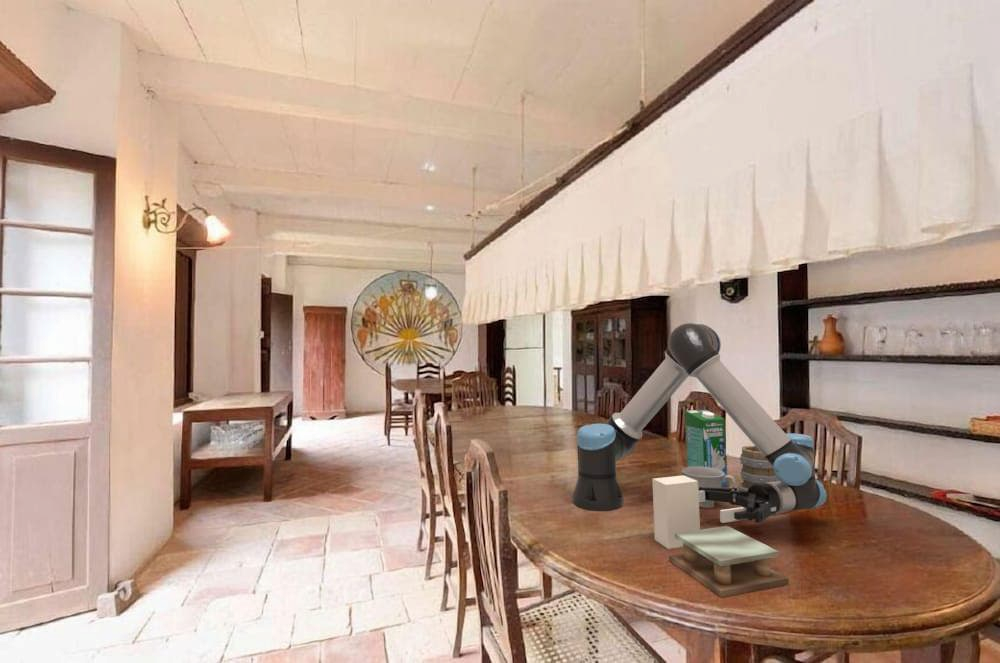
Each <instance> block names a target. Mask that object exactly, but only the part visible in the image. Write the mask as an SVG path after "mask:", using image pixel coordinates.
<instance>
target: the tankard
mask: <svg viewBox="0 0 1000 663" xmlns="http://www.w3.org/2000/svg"><path fill="white" fill-rule="evenodd" d="M741 452H742V453H741V454H740V457H739V460H740V464H741V465H742V467H741V469H740V478H741V479H742V482H740V483H739V490H738V491H742V490H743V491H747V490H748V489H749V487H750V486H751V485H753V484H760V483H767V482H775V481H780V480H779V479H778V478H777V476H776V475H775V472H774V469H773V466H772V465H771V464H770V463H769V462H768V460H767V459H766V458H765V457H764V455H763V454H762V453H761V452H760V451H759V450H758V448H757V447H756V446H755V445H745V446H742V447H741Z"/></svg>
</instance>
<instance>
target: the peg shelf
mask: <svg viewBox="0 0 1000 663" xmlns="http://www.w3.org/2000/svg"><path fill="white" fill-rule="evenodd" d="M675 538H676V539H677V540H679V541H680V542H682V543H683V547H682V552H681V553H674V554H669V555H668V560H669V562H670V563H672V564H674V566H676V567H677V568H679V569H680V570H681V571H683V572H685V573H686V574H688V575H689V576H691V578H693V579H695V580H696V581H697V582H698V583H700V584H701V585H702V586H704V587H706V588H707V589H709V590H710V592H711V591H712V592H713V593H714V594H716V595H717V596H718V597H720V598H725V597H731V596H736V595H742V594H746V593H752V592H757V591H763V590H767V589H772V588H779V587H783V586H787V585H790V584H789V583H790V582H789V578H788V577H787V576H785V575H783V574H781V573H779V572H778V571H776V570H774V569H772V568H771V558H772V559H773V558H777V557H780V551H779V550H777V549H775V548H772V547H771V546H769V545H767V544H765V543H763V542H761V541H759V540H756V539H755V538H753V537H751V536H749V535H747V534H744V533H743V532H740V531H739V530H736V529H734V528H732V527H731V526H729V525H725V526H716V527H711V528H704V529H700V530H695V531H689V532H682V533H675Z"/></svg>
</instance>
